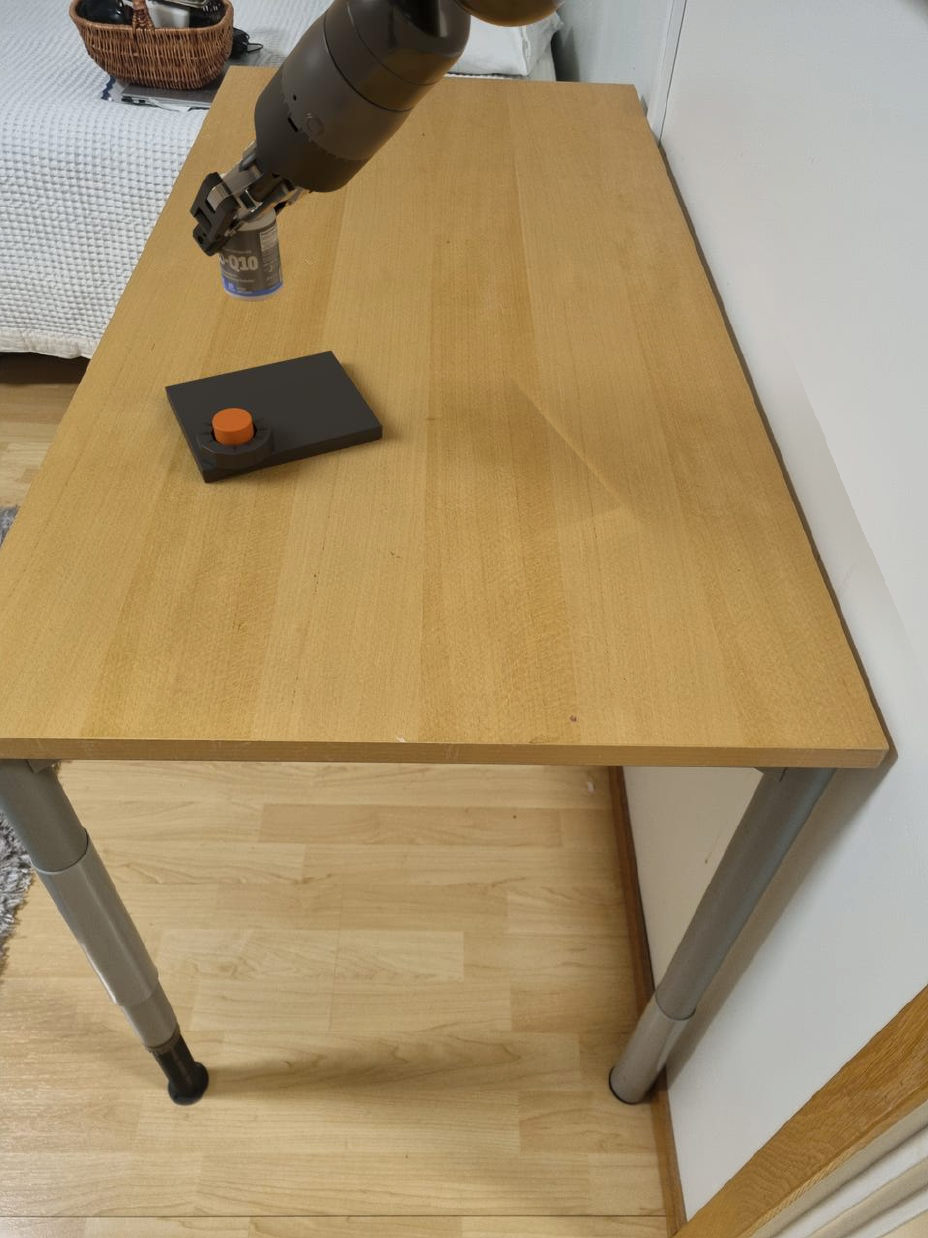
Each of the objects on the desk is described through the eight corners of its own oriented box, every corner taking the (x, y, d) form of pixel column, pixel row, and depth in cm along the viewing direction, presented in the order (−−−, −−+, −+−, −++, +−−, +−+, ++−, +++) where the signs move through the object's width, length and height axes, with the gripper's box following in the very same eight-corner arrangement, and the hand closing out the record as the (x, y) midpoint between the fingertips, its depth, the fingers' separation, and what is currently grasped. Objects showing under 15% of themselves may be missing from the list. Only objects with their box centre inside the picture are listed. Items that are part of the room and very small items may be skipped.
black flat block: (208, 491, 77) (202, 462, 75) (167, 399, 86) (160, 370, 83) (387, 445, 82) (386, 417, 80) (332, 362, 91) (330, 334, 88)
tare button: (221, 450, 77) (218, 434, 76) (210, 428, 79) (207, 413, 77) (258, 440, 78) (256, 425, 77) (247, 419, 80) (245, 404, 78)
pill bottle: (212, 295, 73) (193, 187, 67) (244, 268, 76) (228, 163, 70) (265, 308, 72) (250, 200, 66) (295, 281, 75) (283, 175, 69)
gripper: (373, 16, 62) (262, 157, 75) (219, 74, 54) (125, 220, 67) (437, 121, 64) (318, 240, 77) (298, 192, 56) (191, 311, 69)
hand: (228, 230), depth 72 cm, fingers closed on pill bottle, 4 cm apart
